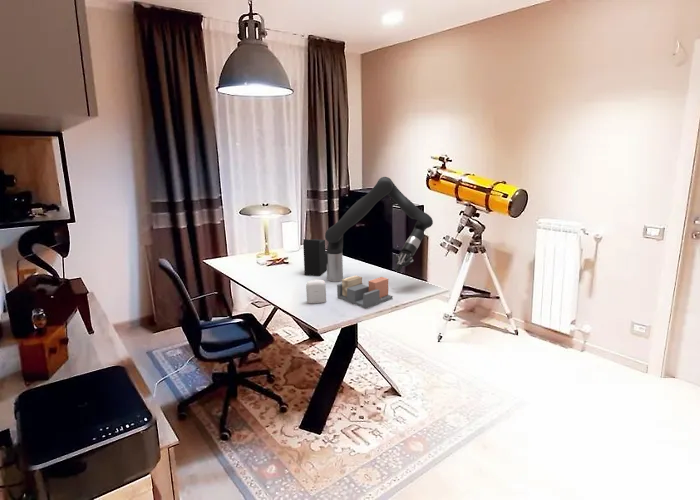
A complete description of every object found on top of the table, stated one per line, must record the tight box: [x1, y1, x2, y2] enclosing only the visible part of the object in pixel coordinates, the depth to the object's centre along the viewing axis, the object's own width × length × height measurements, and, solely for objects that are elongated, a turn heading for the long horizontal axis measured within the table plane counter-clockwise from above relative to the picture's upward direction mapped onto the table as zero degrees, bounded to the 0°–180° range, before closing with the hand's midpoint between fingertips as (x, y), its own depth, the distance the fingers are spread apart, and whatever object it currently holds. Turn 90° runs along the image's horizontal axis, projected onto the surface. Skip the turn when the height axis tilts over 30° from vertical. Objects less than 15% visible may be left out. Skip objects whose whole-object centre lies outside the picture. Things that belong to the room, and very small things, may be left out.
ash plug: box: [341, 275, 363, 297], centre depth 231 cm, size 5×10×9 cm, turn 132°
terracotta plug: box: [368, 276, 389, 298], centre depth 227 cm, size 5×10×9 cm, turn 133°
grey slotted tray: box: [336, 282, 393, 310], centre depth 229 cm, size 22×20×8 cm
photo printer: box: [305, 279, 327, 304], centre depth 225 cm, size 10×4×12 cm, turn 96°
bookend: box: [302, 238, 328, 277], centre depth 279 cm, size 23×11×24 cm, turn 163°
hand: (396, 271), depth 235 cm, fingers closed
